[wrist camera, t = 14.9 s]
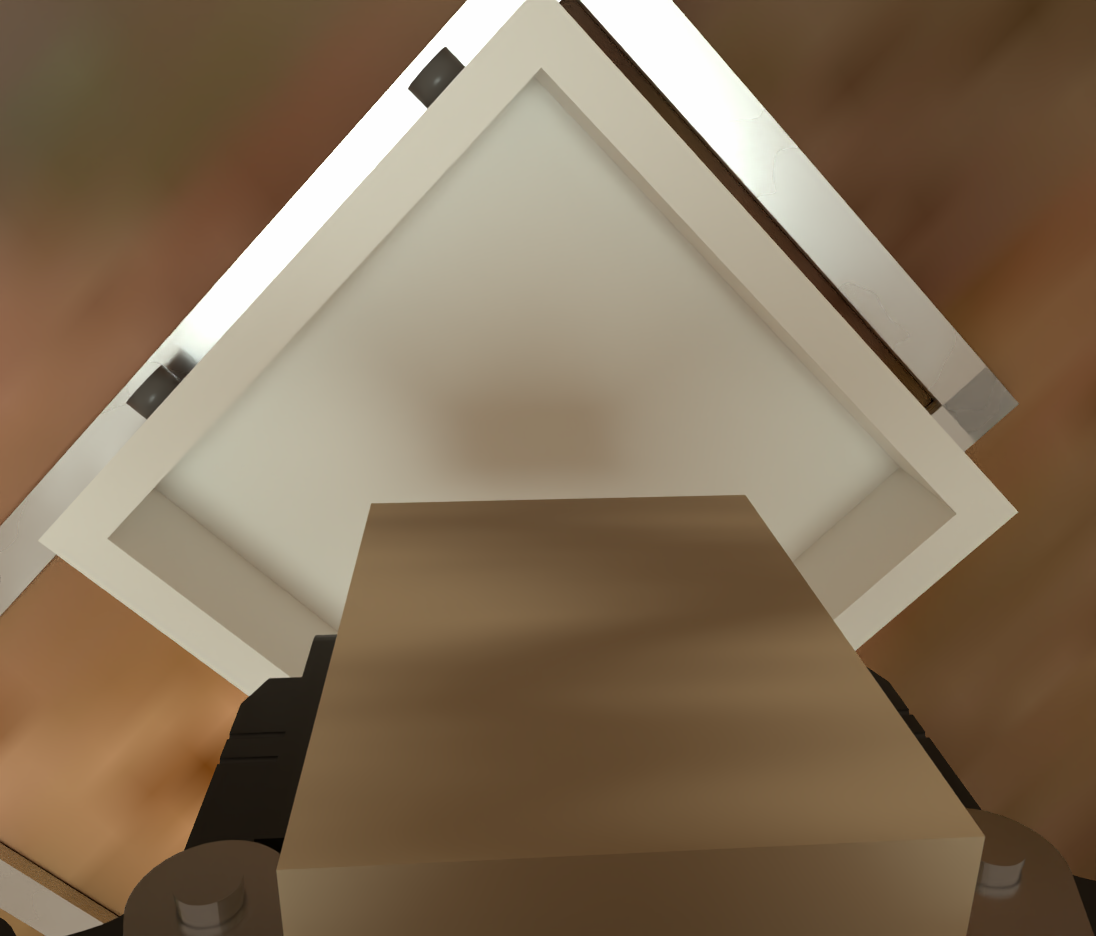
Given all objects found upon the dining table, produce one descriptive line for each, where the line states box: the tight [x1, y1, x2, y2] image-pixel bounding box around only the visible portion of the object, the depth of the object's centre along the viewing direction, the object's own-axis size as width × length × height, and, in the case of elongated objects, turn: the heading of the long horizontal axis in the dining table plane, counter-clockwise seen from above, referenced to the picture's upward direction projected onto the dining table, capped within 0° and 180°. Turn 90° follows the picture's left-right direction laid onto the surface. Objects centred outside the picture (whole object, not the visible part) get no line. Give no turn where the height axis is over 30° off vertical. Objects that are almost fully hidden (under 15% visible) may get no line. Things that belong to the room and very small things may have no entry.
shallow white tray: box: [38, 0, 1018, 696], centre depth 19 cm, size 12×13×4 cm
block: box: [276, 495, 985, 936], centre depth 10 cm, size 4×4×6 cm
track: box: [0, 0, 1019, 936], centre depth 22 cm, size 25×14×1 cm, turn 135°
